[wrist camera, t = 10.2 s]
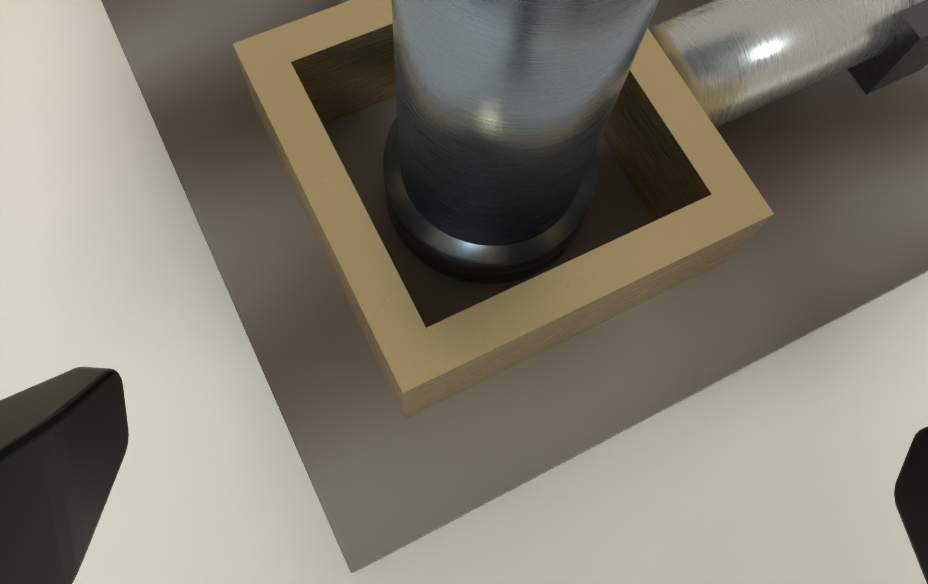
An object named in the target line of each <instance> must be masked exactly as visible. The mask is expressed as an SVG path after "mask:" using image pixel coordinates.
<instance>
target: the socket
mask: <svg viewBox="0 0 928 584" xmlns="http://www.w3.org/2000/svg"><path fill="white" fill-rule="evenodd" d="M335 2H336V4H337V5H336V6H333V7H331V8H328V9H325V10H323V11H320V12H317V13H314V14H312V15H309V16H306V17H304V18H301V19H298V20H296V21H293V22H290V23H287V24H285V25H282V26H279V27H277V28H274V29H271V30H268V31H266V32H263V33H260V34H258V35H255V36H252V37H249V38H247V39H244V40H241V41H239V42H236V43H233V46H234V49H235V52H236V55H237V58H238V60H239V63H240V66H241V69H242V72H243V74H244V77H245V80H246V83H247V85H248V88H249V91H250V94H251V97H252V99H253V102H254V105H255V108H256V111H257V113H258V116H259V118H260V120H261V122H262V124H263V126H264V128H265V130H266V132H267V135H268V137H269V139H270V141H271V143H272V145H273V147H274V149H275V151H276V153H277V155H278V157H279V159H280V161H281V163H282V166H283V168H284V170H285V172H286V174H287V176H288V178H289V180H290V182H291V184H292V186H293V188H294V190H295V192H296V195H297V197H298V199H299V201H300V203H301V205H302V207H303V209H304V211H305V213H306V215H307V217H308V219H309V221H310V224H311V226H312V228H313V230H314V232H315V234H316V236H317V238H318V240H319V242H320V244H321V246H322V248H323V250H324V253H325V255H326V257H327V259H328V261H329V263H330V265H331V267H332V269H333V271H334V273H335V275H336V277H337V279H338V282H339V284H340V286H341V288H342V290H343V292H344V294H345V296H346V298H347V300H348V302H349V304H350V306H351V308H352V311H353V313H354V315H355V317H356V319H357V321H358V323H359V325H360V327H361V329H362V331H363V333H364V335H365V337H366V340H367V342H368V344H369V346H370V348H371V350H372V352H373V354H374V356H375V358H376V360H377V362H378V364H379V366H380V369H381V371H382V373H383V375H384V377H385V379H386V381H387V383H388V385H389V387H390V389H391V391H392V393H393V395H394V398H395V400H396V402H397V404H398V406H399V408H400V410H401V412H402V414H403V416H404V418H405V419H407V418H409V417H411V416H413V415H415V414H418V413H420V412H422V411H424V410H426V409H428V408H430V407H432V406H434V405H436V404H438V403H440V402H442V401H444V400H446V399H448V398H450V397H452V396H454V395H456V394H458V393H460V392H462V391H464V390H466V389H468V388H471V387H473V386H475V385H477V384H479V383H481V382H483V381H485V380H487V379H489V378H491V377H493V376H495V375H497V374H499V373H501V372H503V371H505V370H507V369H509V368H511V367H513V366H515V365H517V364H519V363H522V362H524V361H526V360H528V359H530V358H532V357H534V356H536V355H538V354H540V353H542V352H544V351H546V350H548V349H550V348H552V347H554V346H556V345H558V344H560V343H562V342H564V341H566V340H568V339H570V338H573V337H575V336H577V335H579V334H581V333H583V332H585V331H587V330H589V329H591V328H593V327H595V326H597V325H599V324H601V323H603V322H605V321H607V320H609V319H611V318H613V317H615V316H617V315H619V314H621V313H624V312H626V311H628V310H630V309H632V308H634V307H636V306H638V305H640V304H642V303H644V302H646V301H648V300H650V299H652V298H654V297H656V296H658V295H660V294H662V293H664V292H666V291H668V290H670V289H672V288H675V287H677V286H679V285H681V284H683V283H685V282H687V281H689V280H691V279H693V278H695V277H697V276H699V275H701V274H703V273H705V272H707V271H709V270H711V269H713V268H715V267H717V266H719V265H721V264H723V263H725V262H726V261H727V260H728V259H729V258H730V257H731V256H732V255H733V254H734V253H735V252H736V251H737V250H738V249H739V248H740V247H741V246H742V245H743V244H744V243H745V242H746V241H747V240H748V239H749V238H750V237H751V236H752V235H753V234H754V233H755V232H756V231H757V230H758V229H759V228H760V227H761V226H762V225H763V224H764V223H765V222H766V221H767V220H768V219H769V218H770V217H771V216H772V215H773V214H774V213H773V211H772V210H771V209H770V207H769V206H768V204H767V203H766V201H765V200H764V198H763V197H762V195H761V194H760V192H759V191H758V189H757V188H756V186H755V185H754V184H753V182H752V181H751V179H750V178H749V176H748V175H747V173H746V172H745V170H744V169H743V167H742V166H741V164H740V163H739V161H738V160H737V159H736V157H735V156H734V154H733V153H732V151H731V150H730V148H729V147H728V145H727V144H726V142H725V141H724V139H723V138H722V136H721V135H720V134H719V132H718V131H717V129H716V127H718V126H721V125H723V124H725V123H727V122H730V121H732V120H734V119H736V118H738V117H741V116H743V115H745V114H747V113H750V112H752V111H754V110H756V109H759V108H761V107H763V106H765V105H768V104H770V103H772V102H774V101H776V100H779V99H781V98H783V97H785V96H788V95H790V94H792V93H794V92H797V91H799V90H801V89H803V88H805V87H808V86H810V85H812V84H814V83H817V82H819V81H821V80H823V79H826V78H828V77H830V76H832V75H834V74H837V73H839V72H841V71H843V70H846V69H847V70H848V71H849V73H850V74H851V75H852V77H853V78H854V79H855V81H856V82H857V83H858V84H859V86H860V87H861V88H862V90H863V91H864V92H865V94H866V95H867V94H869V93H872V92H874V91H876V90H878V89H880V88H883V87H885V86H887V85H889V84H891V83H893V82H896V81H898V80H900V79H902V78H904V77H907V76H909V75H911V74H913V73H915V72H917V71H920V70H922V69H923V68H924V67H925V66H926V65H927V64H928V0H714V1H711V2H709V3H706V4H704V5H702V6H699V7H697V8H694V9H692V10H689V11H687V12H684V13H682V14H680V15H677V16H675V17H672V18H670V19H667V20H665V21H662V22H660V23H658V24H655V25H653V26H650V27H648V28H647V30H646V33H645V35H644V37H643V40H642V42H641V44H640V47H639V49H638V51H637V54H636V56H635V58H634V61H633V63H632V65H631V68H630V70H629V73H628V75H627V77H626V80H625V82H624V84H623V87H622V89H621V91H620V94H619V96H618V98H617V101H616V103H615V105H614V108H613V110H612V112H611V115H610V117H609V119H608V122H607V124H606V126H605V129H604V131H603V133H602V136H601V137H602V138H603V140H604V142H605V143H606V145H607V146H608V148H609V150H610V151H611V153H612V154H613V156H614V158H615V159H616V161H617V162H618V164H619V165H620V167H621V169H622V170H623V172H624V173H625V175H626V177H627V178H628V180H629V181H630V183H631V185H632V186H633V188H634V189H635V191H636V193H637V194H638V196H639V197H640V199H641V201H642V202H643V204H644V205H645V207H646V208H647V210H648V212H649V213H650V215H651V216H652V218H653V220H654V222H652V223H649V224H647V225H645V226H643V227H641V228H639V229H637V230H634V231H632V232H630V233H628V234H626V235H624V236H622V237H619V238H617V239H615V240H613V241H611V242H609V243H607V244H604V245H602V246H600V247H598V248H596V249H594V250H592V251H589V252H587V253H585V254H583V255H581V256H579V257H577V258H575V259H572V260H570V261H568V262H566V263H564V264H562V265H560V266H557V267H555V268H553V269H551V270H549V271H547V272H545V273H542V274H540V275H538V276H536V277H534V278H532V279H530V280H527V281H525V282H523V283H521V284H519V285H517V286H515V287H512V288H510V289H508V290H506V291H504V292H502V293H500V294H498V295H495V296H493V297H491V298H489V299H487V300H485V301H483V302H480V303H478V304H476V305H474V306H472V307H470V308H468V309H465V310H463V311H461V312H459V313H457V314H455V315H453V316H450V317H448V318H446V319H444V320H442V321H440V322H438V323H435V324H433V325H431V326H429V327H427V328H426V327H425V325H424V323H423V321H422V319H421V317H420V315H419V313H418V311H417V309H416V307H415V305H414V303H413V301H412V299H411V297H410V295H409V294H408V292H407V290H406V288H405V286H404V284H403V282H402V280H401V278H400V276H399V274H398V272H397V270H396V268H395V266H394V264H393V262H392V260H391V258H390V256H389V254H388V252H387V250H386V248H385V246H384V244H383V242H382V240H381V238H380V237H379V235H378V233H377V231H376V229H375V227H374V225H373V223H372V221H371V219H370V217H369V215H368V213H367V211H366V209H365V207H364V205H363V203H362V201H361V199H360V197H359V195H358V193H357V191H356V189H355V187H354V185H353V183H352V182H351V180H350V178H349V176H348V174H347V172H346V170H345V168H344V166H343V164H342V162H341V160H340V158H339V156H338V154H337V152H336V150H335V148H334V146H333V144H332V142H331V140H330V138H329V136H328V134H327V132H326V130H325V128H324V127H323V125H325V124H327V123H330V122H332V121H335V120H337V119H340V118H342V117H345V116H347V115H350V114H352V113H355V112H357V111H360V110H362V109H365V108H367V107H370V106H372V105H375V104H377V103H380V102H382V101H385V100H387V99H390V98H392V97H395V96H396V80H395V60H394V41H393V21H392V1H391V0H335Z"/></svg>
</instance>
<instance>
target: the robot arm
mask: <svg viewBox="0 0 928 584" xmlns="http://www.w3.org/2000/svg"><path fill="white" fill-rule="evenodd" d="M128 435H129V433H128V423H127V415H126V407H125V399H124V391H123V384H122V380H121V377H120V375H119V373H118V372H117V371H115V370H114V369H107V368H93V367H77V368H74V369H72V370H70V371H68V372H65V373H63V374H61V375H58V376H56V377H54V378H51V379H49V380H47V381H44V382H42V383H40V384H37V385H35V386H33V387H30V388H28V389H26V390H24V391H21V392H19V393H17V394H14V395H12V396H10V397H7V398H5V399H3V400H0V584H72V583H73V581H74V579H75V577H76V575H77V573H78V571H79V569H80V566H81V564H82V562H83V559H84V557H85V554H86V552H87V550H88V547H89V545H90V542H91V539H92V537H93V534H94V532H95V529H96V527H97V524H98V522H99V519H100V517H101V514H102V512H103V509H104V506H105V504H106V501H107V499H108V496H109V494H110V491H111V489H112V486H113V484H114V481H115V479H116V476H117V474H118V471H119V468H120V466H121V463H122V461H123V458H124V456H125V453H126V449H127V445H128ZM894 496H895V503H896V506H897V509H898V512H899V514H900V517H901V519H902V522H903V524H904V527H905V529H906V532H907V535H908V537H909V540H910V542H911V545H912V547H913V550H914V552H915V555H916V557H917V560H918V562H919V565H920V567H921V570H922V572H923V575H924V577H925V580H926V582H927V584H928V427H925V428H923V429H921V430H919V431H918V432H917V434H916V435H915V437H914V438H913V441H912V443H911V446H910V448H909V451H908V453H907V456H906V458H905V461H904V463H903V466H902V468H901V471H900V473H899V476H898V478H897V481H896V484H895V491H894Z"/></svg>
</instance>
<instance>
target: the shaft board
mask: <svg viewBox="0 0 928 584" xmlns="http://www.w3.org/2000/svg"><path fill="white" fill-rule="evenodd" d="M101 1H102V3H103V5H104V8H105V10H106V12H107V14H108V17H109V19H110V21H111V24H112V26H113V28H114V30H115V33H116V35H117V37H118V40H119V42H120V44H121V47H122V49H123V51H124V53H125V56H126V58H127V60H128V63H129V65H130V67H131V69H132V72H133V74H134V76H135V79H136V81H137V83H138V86H139V88H140V90H141V92H142V95H143V97H144V99H145V102H146V104H147V106H148V108H149V111H150V113H151V115H152V118H153V120H154V122H155V125H156V127H157V129H158V131H159V134H160V136H161V138H162V141H163V143H164V145H165V147H166V150H167V152H168V154H169V157H170V159H171V161H172V164H173V166H174V168H175V170H176V173H177V175H178V177H179V180H180V182H181V184H182V186H183V189H184V191H185V193H186V196H187V198H188V200H189V202H190V205H191V207H192V209H193V212H194V214H195V216H196V219H197V221H198V223H199V225H200V228H201V230H202V232H203V235H204V237H205V239H206V241H207V244H208V246H209V248H210V251H211V253H212V255H213V258H214V260H215V262H216V264H217V267H218V269H219V271H220V274H221V276H222V278H223V280H224V283H225V285H226V287H227V290H228V292H229V294H230V297H231V299H232V301H233V303H234V306H235V308H236V310H237V313H238V315H239V317H240V319H241V322H242V324H243V326H244V329H245V331H246V333H247V336H248V338H249V340H250V342H251V345H252V347H253V349H254V352H255V354H256V356H257V358H258V361H259V363H260V365H261V368H262V370H263V372H264V375H265V377H266V379H267V381H268V384H269V386H270V388H271V391H272V393H273V395H274V397H275V400H276V402H277V404H278V407H279V409H280V411H281V414H282V416H283V418H284V420H285V423H286V425H287V427H288V430H289V432H290V434H291V436H292V439H293V441H294V443H295V446H296V448H297V450H298V453H299V455H300V457H301V459H302V462H303V464H304V466H305V469H306V471H307V473H308V475H309V478H310V480H311V482H312V485H313V487H314V489H315V491H316V494H317V496H318V498H319V501H320V503H321V505H322V508H323V510H324V512H325V514H326V517H327V519H328V521H329V524H330V526H331V528H332V530H333V533H334V535H335V537H336V540H337V542H338V544H339V547H340V549H341V551H342V553H343V556H344V558H345V560H346V563H347V565H348V567H349V569H350V572H351V573H353V572H356V571H358V570H360V569H362V568H364V567H366V566H367V565H369V564H371V563H373V562H375V561H377V560H379V559H381V558H383V557H385V556H386V555H388V554H390V553H392V552H394V551H396V550H398V549H400V548H402V547H404V546H405V545H407V544H409V543H411V542H413V541H415V540H417V539H419V538H421V537H423V536H425V535H426V534H428V533H430V532H432V531H434V530H436V529H438V528H440V527H442V526H444V525H445V524H447V523H449V522H451V521H453V520H455V519H457V518H459V517H461V516H463V515H465V514H466V513H468V512H470V511H472V510H474V509H476V508H478V507H480V506H482V505H484V504H485V503H487V502H489V501H491V500H493V499H495V498H497V497H499V496H501V495H503V494H505V493H506V492H508V491H510V490H512V489H514V488H516V487H518V486H520V485H522V484H524V483H525V482H527V481H529V480H531V479H533V478H535V477H537V476H539V475H541V474H543V473H545V472H546V471H548V470H550V469H552V468H554V467H556V466H558V465H560V464H562V463H564V462H565V461H567V460H569V459H571V458H573V457H575V456H577V455H579V454H581V453H583V452H584V451H586V450H588V449H590V448H592V447H594V446H596V445H598V444H600V443H602V442H604V441H605V440H607V439H609V438H611V437H613V436H615V435H617V434H619V433H621V432H623V431H624V430H626V429H628V428H630V427H632V426H634V425H636V424H638V423H640V422H642V421H644V420H645V419H647V418H649V417H651V416H653V415H655V414H657V413H659V412H661V411H663V410H664V409H666V408H668V407H670V406H672V405H674V404H676V403H678V402H680V401H682V400H684V399H685V398H687V397H689V396H691V395H693V394H695V393H697V392H699V391H701V390H703V389H704V388H706V387H708V386H710V385H712V384H714V383H716V382H718V381H720V380H722V379H723V378H725V377H727V376H729V375H731V374H733V373H735V372H737V371H739V370H741V369H743V368H744V367H746V366H748V365H750V364H752V363H754V362H756V361H758V360H760V359H762V358H763V357H765V356H767V355H769V354H771V353H773V352H775V351H777V350H779V349H781V348H783V347H784V346H786V345H788V344H790V343H792V342H794V341H796V340H798V339H800V338H802V337H803V336H805V335H807V334H809V333H811V332H813V331H815V330H817V329H819V328H821V327H823V326H824V325H826V324H828V323H830V322H832V321H834V320H836V319H838V318H840V317H842V316H843V315H845V314H847V313H849V312H851V311H853V310H855V309H857V308H859V307H861V306H862V305H864V304H866V303H868V302H870V301H872V300H874V299H876V298H878V297H880V296H882V295H883V294H885V293H887V292H889V291H891V290H893V289H895V288H897V287H899V286H901V285H902V284H904V283H906V282H908V281H910V280H912V279H914V278H916V277H918V276H920V275H922V274H923V273H925V272H927V271H928V64H927V65H926V66H925V67H924V68H923V69H922V70H920V71H917V72H915V73H913V74H911V75H909V76H907V77H904V78H902V79H900V80H898V81H896V82H893V83H891V84H889V85H887V86H885V87H883V88H880V89H878V90H876V91H874V92H872V93H869V94H867V95H866V94H865V92H864V91H863V90H862V88H861V87H860V86H859V84H858V83H857V82H856V81H855V79H854V78H853V77H852V75H851V74H850V73H849V71H848V70H847V69H846V70H843V71H841V72H839V73H837V74H834V75H832V76H830V77H828V78H826V79H823V80H821V81H819V82H817V83H814V84H812V85H810V86H808V87H805V88H803V89H801V90H799V91H797V92H794V93H792V94H790V95H788V96H785V97H783V98H781V99H779V100H776V101H774V102H772V103H770V104H768V105H765V106H763V107H761V108H759V109H756V110H754V111H752V112H750V113H747V114H745V115H743V116H741V117H738V118H736V119H734V120H732V121H730V122H727V123H725V124H723V125H721V126H718V127H716V129H717V131H718V132H719V134H720V135H721V136H722V138H723V139H724V141H725V142H726V144H727V145H728V147H729V148H730V150H731V151H732V153H733V154H734V156H735V157H736V159H737V160H738V161H739V163H740V164H741V166H742V167H743V169H744V170H745V172H746V173H747V175H748V176H749V178H750V179H751V181H752V182H753V184H754V185H755V186H756V188H757V189H758V191H759V192H760V194H761V195H762V197H763V198H764V200H765V201H766V203H767V204H768V206H769V207H770V209H771V210H772V211H773V213H774V214H773V215H772V216H771V217H770V218H769V219H768V220H767V221H766V222H765V223H764V224H763V225H762V226H761V227H760V228H759V229H758V230H757V231H756V232H755V233H754V234H753V235H752V236H751V237H750V238H749V239H748V240H747V241H746V242H745V243H744V244H743V245H742V246H741V247H740V248H739V249H738V250H737V251H736V252H735V253H734V254H733V255H732V256H731V257H730V258H729V259H728V260H727V261H726V262H725V263H723V264H721V265H719V266H717V267H715V268H713V269H711V270H709V271H707V272H705V273H703V274H701V275H699V276H697V277H695V278H693V279H691V280H689V281H687V282H685V283H683V284H681V285H679V286H677V287H675V288H672V289H670V290H668V291H666V292H664V293H662V294H660V295H658V296H656V297H654V298H652V299H650V300H648V301H646V302H644V303H642V304H640V305H638V306H636V307H634V308H632V309H630V310H628V311H626V312H624V313H621V314H619V315H617V316H615V317H613V318H611V319H609V320H607V321H605V322H603V323H601V324H599V325H597V326H595V327H593V328H591V329H589V330H587V331H585V332H583V333H581V334H579V335H577V336H575V337H573V338H570V339H568V340H566V341H564V342H562V343H560V344H558V345H556V346H554V347H552V348H550V349H548V350H546V351H544V352H542V353H540V354H538V355H536V356H534V357H532V358H530V359H528V360H526V361H524V362H522V363H519V364H517V365H515V366H513V367H511V368H509V369H507V370H505V371H503V372H501V373H499V374H497V375H495V376H493V377H491V378H489V379H487V380H485V381H483V382H481V383H479V384H477V385H475V386H473V387H471V388H468V389H466V390H464V391H462V392H460V393H458V394H456V395H454V396H452V397H450V398H448V399H446V400H444V401H442V402H440V403H438V404H436V405H434V406H432V407H430V408H428V409H426V410H424V411H422V412H420V413H418V414H415V415H413V416H411V417H409V418H407V419H405V418H404V416H403V414H402V412H401V410H400V408H399V406H398V404H397V402H396V400H395V398H394V395H393V393H392V391H391V389H390V387H389V385H388V383H387V381H386V379H385V377H384V375H383V373H382V371H381V369H380V366H379V364H378V362H377V360H376V358H375V356H374V354H373V352H372V350H371V348H370V346H369V344H368V342H367V340H366V337H365V335H364V333H363V331H362V329H361V327H360V325H359V323H358V321H357V319H356V317H355V315H354V313H353V311H352V308H351V306H350V304H349V302H348V300H347V298H346V296H345V294H344V292H343V290H342V288H341V286H340V284H339V282H338V279H337V277H336V275H335V273H334V271H333V269H332V267H331V265H330V263H329V261H328V259H327V257H326V255H325V253H324V250H323V248H322V246H321V244H320V242H319V240H318V238H317V236H316V234H315V232H314V230H313V228H312V226H311V224H310V221H309V219H308V217H307V215H306V213H305V211H304V209H303V207H302V205H301V203H300V201H299V199H298V197H297V195H296V192H295V190H294V188H293V186H292V184H291V182H290V180H289V178H288V176H287V174H286V172H285V170H284V168H283V166H282V163H281V161H280V159H279V157H278V155H277V153H276V151H275V149H274V147H273V145H272V143H271V141H270V139H269V137H268V135H267V132H266V130H265V128H264V126H263V124H262V122H261V120H260V118H259V116H258V113H257V111H256V108H255V105H254V102H253V99H252V97H251V94H250V91H249V88H248V85H247V83H246V80H245V77H244V74H243V72H242V69H241V66H240V63H239V60H238V58H237V55H236V52H235V49H234V46H233V43H236V42H239V41H241V40H244V39H247V38H249V37H252V36H255V35H258V34H260V33H263V32H266V31H268V30H271V29H274V28H277V27H279V26H282V25H285V24H287V23H290V22H293V21H296V20H298V19H301V18H304V17H306V16H309V15H312V14H314V13H317V12H320V11H323V10H325V9H328V8H331V7H333V6H336V5H337V4H336V2H335V0H101ZM711 1H714V0H659V2H658V5H657V7H656V9H655V12H654V14H653V16H652V19H651V21H650V23H649V26H648V27H650V26H653V25H655V24H658V23H660V22H662V21H665V20H667V19H670V18H672V17H675V16H677V15H680V14H682V13H684V12H687V11H689V10H692V9H694V8H697V7H699V6H702V5H704V4H706V3H709V2H711ZM396 117H397V100H396V96H395V97H392V98H390V99H387V100H385V101H382V102H380V103H377V104H375V105H372V106H370V107H367V108H365V109H362V110H360V111H357V112H355V113H352V114H350V115H347V116H345V117H342V118H340V119H337V120H335V121H332V122H330V123H327V124H325V125H323V127H324V128H325V130H326V132H327V134H328V136H329V138H330V140H331V142H332V144H333V146H334V148H335V150H336V152H337V154H338V156H339V158H340V160H341V162H342V164H343V166H344V168H345V170H346V172H347V174H348V176H349V178H350V180H351V182H352V183H353V185H354V187H355V189H356V191H357V193H358V195H359V197H360V199H361V201H362V203H363V205H364V207H365V209H366V211H367V213H368V215H369V217H370V219H371V221H372V223H373V225H374V227H375V229H376V231H377V233H378V235H379V237H380V238H381V240H382V242H383V244H384V246H385V248H386V250H387V252H388V254H389V256H390V258H391V260H392V262H393V264H394V266H395V268H396V270H397V272H398V274H399V276H400V278H401V280H402V282H403V284H404V286H405V288H406V290H407V292H408V294H409V295H410V297H411V299H412V301H413V303H414V305H415V307H416V309H417V311H418V313H419V315H420V317H421V319H422V321H423V323H424V325H425V327H426V328H427V327H429V326H431V325H433V324H435V323H438V322H440V321H442V320H444V319H446V318H448V317H450V316H453V315H455V314H457V313H459V312H461V311H463V310H465V309H468V308H470V307H472V306H474V305H476V304H478V303H480V302H483V301H485V300H487V299H489V298H491V297H493V296H495V295H498V294H500V293H502V292H504V291H506V290H508V289H510V288H512V287H515V286H517V285H519V284H521V283H523V282H525V281H527V280H530V279H532V278H534V277H536V276H538V275H540V274H542V273H545V272H547V271H549V270H551V269H553V268H555V267H557V266H560V265H562V264H564V263H566V262H568V261H570V260H572V259H575V258H577V257H579V256H581V255H583V254H585V253H587V252H589V251H592V250H594V249H596V248H598V247H600V246H602V245H604V244H607V243H609V242H611V241H613V240H615V239H617V238H619V237H622V236H624V235H626V234H628V233H630V232H632V231H634V230H637V229H639V228H641V227H643V226H645V225H647V224H649V223H652V222H654V220H653V218H652V216H651V215H650V213H649V212H648V210H647V208H646V207H645V205H644V204H643V202H642V201H641V199H640V197H639V196H638V194H637V193H636V191H635V189H634V188H633V186H632V185H631V183H630V181H629V180H628V178H627V177H626V175H625V173H624V172H623V170H622V169H621V167H620V165H619V164H618V162H617V161H616V159H615V158H614V156H613V154H612V153H611V151H610V150H609V148H608V146H607V145H606V143H605V142H604V140H603V138H602V137H601V138H600V141H599V143H598V145H597V148H596V150H595V151H596V156H597V166H598V173H597V184H596V189H595V193H594V196H593V199H592V202H591V204H590V207H589V209H588V211H587V213H586V215H585V217H584V219H583V221H582V223H581V226H580V228H579V230H578V232H577V233H576V235H575V237H574V239H573V241H572V242H571V244H570V245H569V246H568V248H567V249H566V250H565V251H564V252H563V253H562V254H561V255H560V256H559V257H558V258H557V259H556V260H555V261H554V262H553V263H551V264H550V265H549V266H547V267H546V268H544V269H543V270H541V271H539V272H537V273H535V274H533V275H531V276H528V277H526V278H523V279H520V280H516V281H512V282H507V283H499V284H479V283H471V282H466V281H462V280H458V279H454V278H452V277H449V276H447V275H444V274H442V273H440V272H438V271H436V270H434V269H433V268H431V267H429V266H428V265H427V264H425V263H424V262H422V261H421V260H420V259H419V258H418V257H416V256H415V255H414V254H413V253H412V252H411V251H410V250H409V249H408V247H407V246H406V245H405V244H404V243H403V241H402V240H401V238H400V237H399V235H398V233H397V232H396V230H395V228H394V225H393V223H392V221H391V219H390V215H389V211H388V208H387V201H386V193H385V182H384V172H383V154H384V147H385V142H386V139H387V136H388V133H389V130H390V128H391V126H392V124H393V122H394V120H395V118H396Z"/></svg>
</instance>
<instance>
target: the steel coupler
mask: <svg viewBox="0 0 928 584" xmlns="http://www.w3.org/2000/svg"><path fill="white" fill-rule="evenodd" d="M391 1H392V21H393V41H394V60H395V80H396V100H397V117H396V118H395V120H394V122H393V124H392V126H391V128H390V130H389V133H388V136H387V139H386V142H385V147H384V154H383V172H384V182H385V193H386V201H387V208H388V211H389V215H390V219H391V221H392V223H393V225H394V228H395V230H396V232H397V233H398V235H399V237H400V238H401V240H402V241H403V243H404V244H405V245H406V246H407V247H408V249H409V250H410V251H411V252H412V253H413V254H414V255H415V256H416V257H418V258H419V259H420V260H421V261H422V262H424V263H425V264H427V265H428V266H429V267H431V268H433V269H434V270H436V271H438V272H440V273H442V274H444V275H447V276H449V277H452V278H454V279H458V280H462V281H466V282H471V283H479V284H499V283H507V282H512V281H516V280H520V279H523V278H526V277H528V276H531V275H533V274H535V273H537V272H539V271H541V270H543V269H544V268H546V267H547V266H549V265H550V264H551V263H553V262H554V261H555V260H556V259H557V258H558V257H559V256H560V255H561V254H562V253H563V252H564V251H565V250H566V249H567V248H568V246H569V245H570V244H571V242H572V241H573V239H574V237H575V235H576V233H577V232H578V230H579V228H580V226H581V223H582V221H583V219H584V217H585V215H586V213H587V211H588V209H589V207H590V204H591V202H592V199H593V196H594V193H595V189H596V184H597V173H598V166H597V156H596V151H595V150H596V148H597V145H598V143H599V141H600V138H601V136H602V133H603V131H604V129H605V126H606V124H607V122H608V119H609V117H610V115H611V112H612V110H613V108H614V105H615V103H616V101H617V98H618V96H619V94H620V91H621V89H622V87H623V84H624V82H625V80H626V77H627V75H628V73H629V70H630V68H631V65H632V63H633V61H634V58H635V56H636V54H637V51H638V49H639V47H640V44H641V42H642V40H643V37H644V35H645V33H646V30H647V28H648V26H649V23H650V21H651V19H652V16H653V14H654V12H655V9H656V7H657V5H658V2H659V0H391Z"/></svg>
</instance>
